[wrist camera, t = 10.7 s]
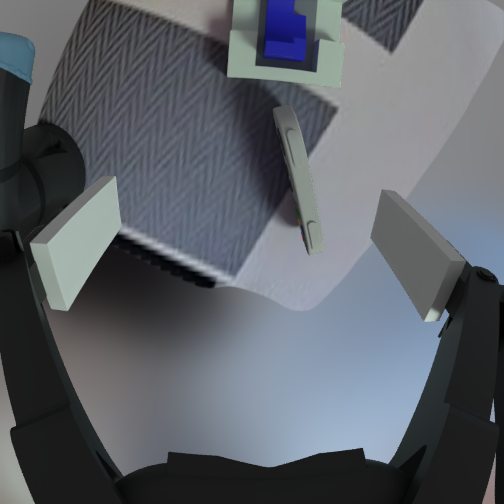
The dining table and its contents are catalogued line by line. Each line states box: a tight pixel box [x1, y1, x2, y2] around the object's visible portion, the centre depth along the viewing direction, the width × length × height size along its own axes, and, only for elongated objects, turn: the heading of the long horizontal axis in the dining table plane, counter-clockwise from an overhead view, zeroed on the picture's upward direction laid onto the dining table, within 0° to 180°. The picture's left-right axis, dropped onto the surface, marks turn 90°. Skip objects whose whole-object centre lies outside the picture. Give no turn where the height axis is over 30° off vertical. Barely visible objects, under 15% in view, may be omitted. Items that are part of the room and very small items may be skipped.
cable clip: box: [263, 0, 307, 62], centre depth 27 cm, size 12×4×6 cm, turn 176°
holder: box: [227, 0, 347, 89], centre depth 29 cm, size 13×18×4 cm
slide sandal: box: [273, 105, 324, 255], centre depth 38 cm, size 20×2×8 cm, turn 15°
